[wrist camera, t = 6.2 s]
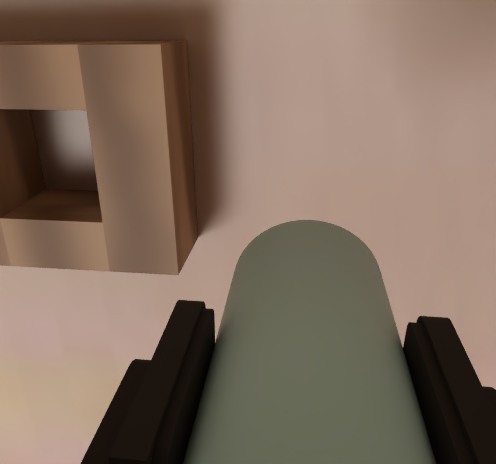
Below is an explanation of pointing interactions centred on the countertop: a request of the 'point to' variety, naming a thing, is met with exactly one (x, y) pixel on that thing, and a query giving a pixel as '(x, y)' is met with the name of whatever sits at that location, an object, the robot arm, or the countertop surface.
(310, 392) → the peg
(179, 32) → the countertop surface
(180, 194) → the socket block
